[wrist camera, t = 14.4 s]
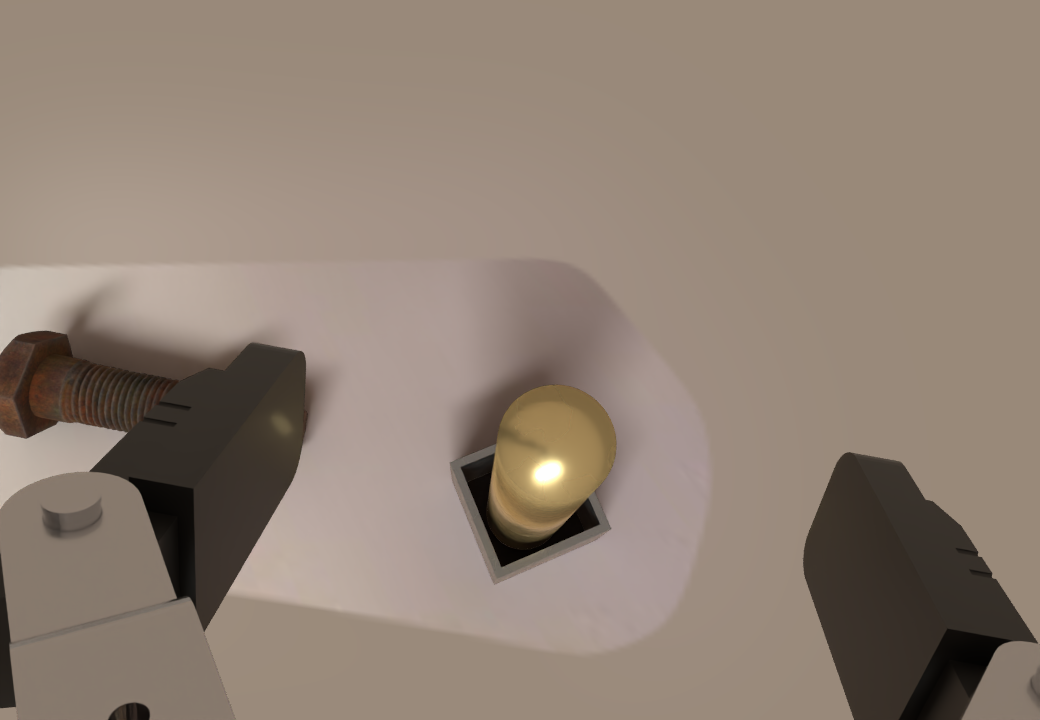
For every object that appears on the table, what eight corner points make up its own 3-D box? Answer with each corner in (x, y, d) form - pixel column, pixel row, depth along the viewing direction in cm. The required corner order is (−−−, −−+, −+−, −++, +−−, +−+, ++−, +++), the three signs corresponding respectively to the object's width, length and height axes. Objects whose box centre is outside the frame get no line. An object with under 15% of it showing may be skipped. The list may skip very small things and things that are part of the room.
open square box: (494, 584, 43) (496, 578, 38) (452, 480, 45) (449, 462, 40) (596, 539, 44) (611, 528, 39) (551, 439, 46) (560, 417, 41)
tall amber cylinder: (503, 561, 43) (525, 521, 26) (475, 492, 44) (479, 410, 27) (571, 532, 44) (636, 474, 27) (541, 464, 45) (586, 367, 28)
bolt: (308, 462, 47) (46, 411, 46) (321, 377, 46) (54, 324, 45) (277, 499, 41) (-22, 441, 40) (292, 403, 40) (-15, 343, 39)
